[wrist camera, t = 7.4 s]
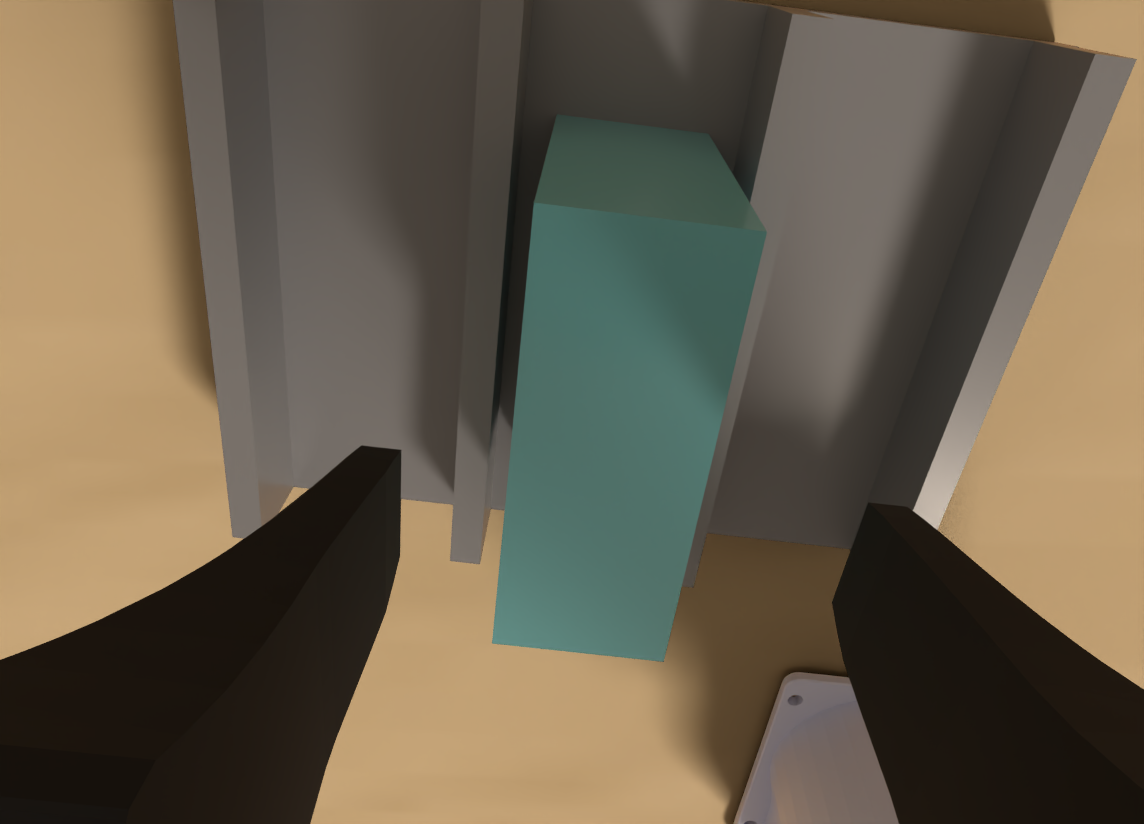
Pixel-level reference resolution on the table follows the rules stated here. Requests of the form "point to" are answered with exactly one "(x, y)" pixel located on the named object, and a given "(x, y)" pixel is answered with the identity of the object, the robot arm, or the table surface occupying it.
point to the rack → (504, 220)
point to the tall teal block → (620, 382)
